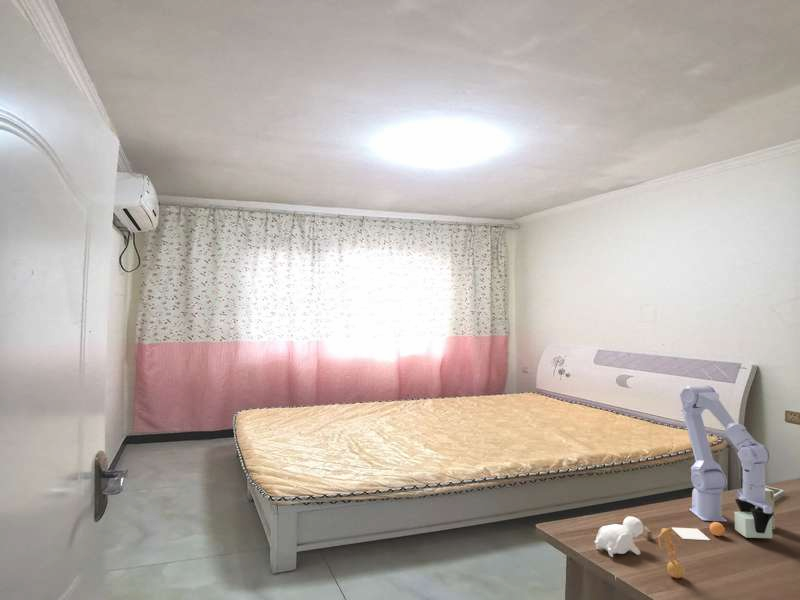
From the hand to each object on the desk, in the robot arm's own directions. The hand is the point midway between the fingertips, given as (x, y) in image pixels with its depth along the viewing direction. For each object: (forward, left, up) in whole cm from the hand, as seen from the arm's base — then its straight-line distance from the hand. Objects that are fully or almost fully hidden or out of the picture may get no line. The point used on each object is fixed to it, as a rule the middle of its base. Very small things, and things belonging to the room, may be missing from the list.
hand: (753, 528), depth 156 cm
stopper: (0, -33, -3) cm, 34 cm away
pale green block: (0, 0, -2) cm, 2 cm away
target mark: (0, -19, -3) cm, 19 cm away
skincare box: (-10, +8, -3) cm, 13 cm away
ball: (0, -11, -1) cm, 11 cm away
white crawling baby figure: (+14, -44, -3) cm, 46 cm away
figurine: (+27, -36, -3) cm, 45 cm away
